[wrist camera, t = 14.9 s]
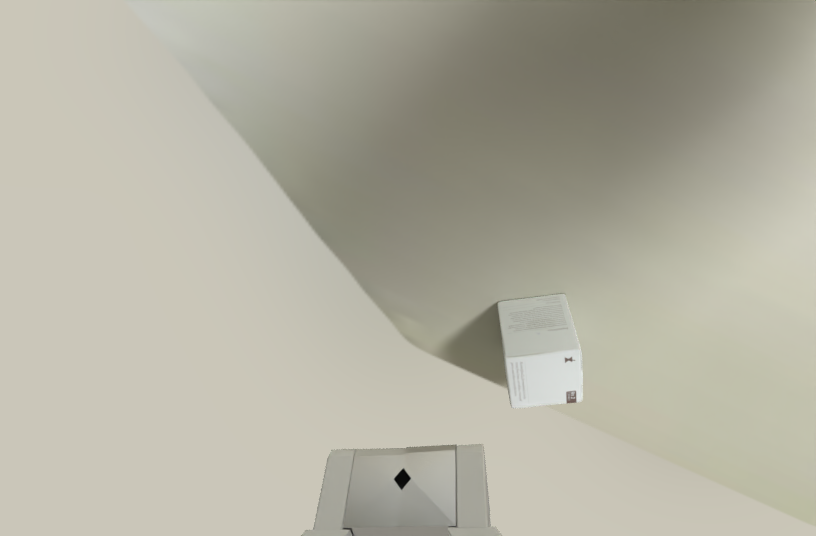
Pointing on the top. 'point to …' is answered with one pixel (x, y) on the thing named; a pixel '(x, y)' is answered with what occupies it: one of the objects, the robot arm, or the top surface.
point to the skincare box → (540, 351)
